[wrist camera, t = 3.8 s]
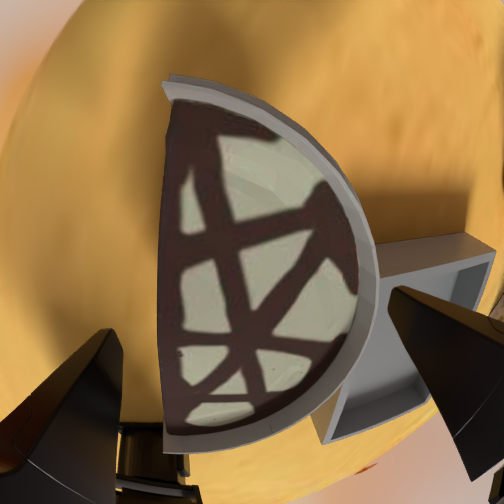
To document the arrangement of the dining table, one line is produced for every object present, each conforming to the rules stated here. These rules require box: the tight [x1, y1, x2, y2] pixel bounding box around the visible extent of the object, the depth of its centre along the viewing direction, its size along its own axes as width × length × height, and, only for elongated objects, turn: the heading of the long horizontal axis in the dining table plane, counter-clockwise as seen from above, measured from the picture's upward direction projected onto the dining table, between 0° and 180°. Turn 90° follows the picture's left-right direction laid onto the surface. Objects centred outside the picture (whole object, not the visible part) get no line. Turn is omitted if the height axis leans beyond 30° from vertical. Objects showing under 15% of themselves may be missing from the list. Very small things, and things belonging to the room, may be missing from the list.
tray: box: [311, 232, 496, 445], centre depth 20 cm, size 14×20×4 cm
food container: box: [157, 74, 380, 454], centre depth 11 cm, size 12×6×10 cm, turn 170°
